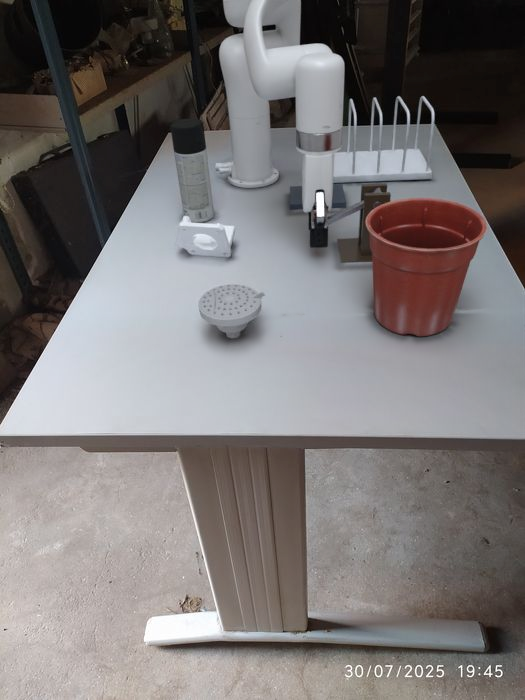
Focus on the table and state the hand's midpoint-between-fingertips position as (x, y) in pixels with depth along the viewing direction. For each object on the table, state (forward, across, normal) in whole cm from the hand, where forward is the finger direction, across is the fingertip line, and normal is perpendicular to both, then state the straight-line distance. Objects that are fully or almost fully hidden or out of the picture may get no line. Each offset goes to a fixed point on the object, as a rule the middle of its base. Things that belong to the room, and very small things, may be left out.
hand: (317, 237), depth 100 cm
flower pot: (+4, +20, +14) cm, 25 cm away
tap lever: (-4, 0, +6) cm, 7 cm away
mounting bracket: (+4, -3, -22) cm, 23 cm away
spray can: (+4, -19, -25) cm, 32 cm away
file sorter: (+4, -43, +16) cm, 46 cm away
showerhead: (+4, +24, -14) cm, 28 cm away
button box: (+4, -24, +1) cm, 24 cm away
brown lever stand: (+4, 0, +10) cm, 11 cm away
